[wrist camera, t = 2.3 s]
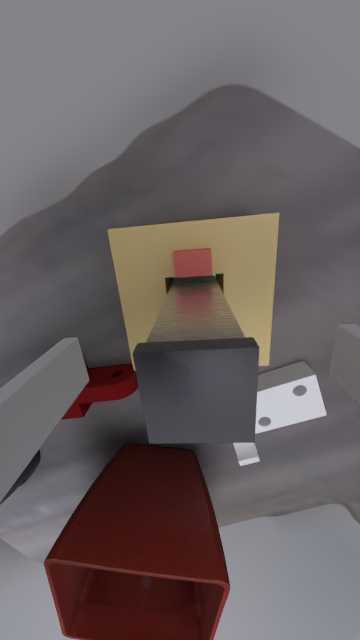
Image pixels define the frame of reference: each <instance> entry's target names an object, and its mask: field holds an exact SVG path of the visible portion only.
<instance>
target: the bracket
mask: <svg viewBox="0 0 360 640" xmlns="http://www.w3.org/2000/svg"><path fill="white" fill-rule="evenodd" d="M325 415H326V411H325V407H324V404H323V400H322V396H321V393H320V389H319V386H318V382H317V378H316V375H315V373H314V372H313V371H312V370H311V369H310V368H309V367H308V365H307V364H306V363H305V362H304V361H301V362H298V363H294V364H291V365H288V366H285V367H282V368H279V369H275V370H272V371H269V372H266V373H263V374H260V375H258V385H257V405H256V425H255V434H257V433H261V432H265V431H268V430H272V429H276V428H280V427H284V426H287V425H291V424H295V423H299V422H303V421H306V420H310V419H314V418H318V417H322V416H325ZM233 444H234V447H235V451H236V454H237V458H238V462H239V464H240V466H242V465H246V464H251V463H255V462H259V461H260V460H259V456H258V453H257V450H256V446H255V443H233Z"/></svg>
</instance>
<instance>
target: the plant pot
mask: <svg viewBox="0 0 360 640" xmlns="http://www.w3.org/2000/svg"><path fill="white" fill-rule="evenodd" d="M44 566H45V570H46V574H47V577H48V581H49V585H50V588H51V592H52V596H53V599H54V603H55V607H56V610H57V614H58V618H59V622H60V626H61V630H62V634H63V635H64V636H66V637H69V638H73V639H79V640H213V639H214V636H215V633H216V629H217V626H218V623H219V620H220V617H221V614H222V611H223V608H224V605H225V602H226V600H227V597H228V594H229V591H230V584H229V578H228V572H227V567H226V561H225V556H224V551H223V547H222V543H221V538H220V534H219V529H218V525H217V521H216V517H215V513H214V509H213V505H212V502H211V498H210V495H209V492H208V488H207V485H206V482H205V479H204V476H203V473H202V470H201V468H200V465H199V462H198V460H197V458H196V455H195V454H194V452H192V451H189V450H180V449H172V448H163V447H155V446H146V445H137V444H125V445H124V446H123V447H122V448H121V449H120V450H119V451H118V452H117V453H116V455H115V456H114V457H113V458H112V459H111V461H110V462H109V463H108V464H107V465H106V467H105V468H104V469H103V471H102V472H101V473H100V475H99V476H98V477H97V479H96V480H95V481H94V483H93V484H92V486H91V487H90V489H89V490H88V491H87V493H86V494H85V496H84V497H83V499H82V500H81V502H80V503H79V505H78V506H77V508H76V510H75V511H74V513H73V514H72V516H71V517H70V519H69V520H68V522H67V524H66V525H65V527H64V529H63V530H62V532H61V534H60V535H59V537H58V539H57V540H56V542H55V544H54V545H53V547H52V549H51V551H50V552H49V554H48V556H47V558H46V559H45V561H44Z"/></svg>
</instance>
